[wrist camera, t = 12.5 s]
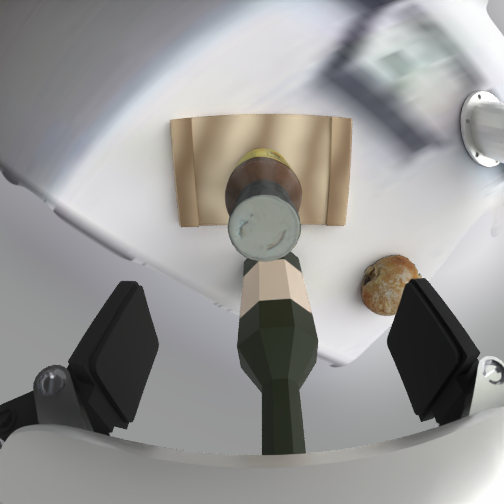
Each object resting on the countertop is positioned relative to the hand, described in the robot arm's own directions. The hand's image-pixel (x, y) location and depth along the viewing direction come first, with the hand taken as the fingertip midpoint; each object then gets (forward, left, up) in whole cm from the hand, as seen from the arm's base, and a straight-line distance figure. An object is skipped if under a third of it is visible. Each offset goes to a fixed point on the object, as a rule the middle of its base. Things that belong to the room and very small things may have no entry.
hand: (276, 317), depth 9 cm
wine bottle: (-1, +15, -28) cm, 32 cm away
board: (0, 0, -28) cm, 28 cm away
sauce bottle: (0, 0, -27) cm, 27 cm away
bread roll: (-20, +17, -28) cm, 39 cm away
